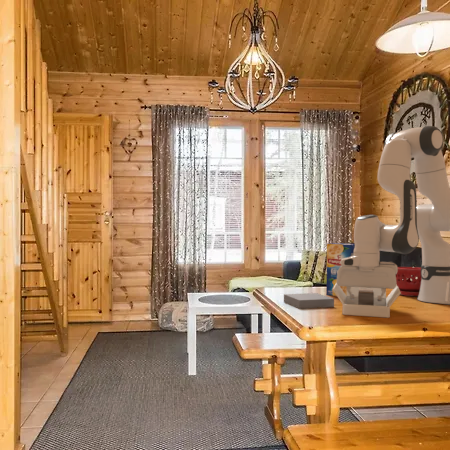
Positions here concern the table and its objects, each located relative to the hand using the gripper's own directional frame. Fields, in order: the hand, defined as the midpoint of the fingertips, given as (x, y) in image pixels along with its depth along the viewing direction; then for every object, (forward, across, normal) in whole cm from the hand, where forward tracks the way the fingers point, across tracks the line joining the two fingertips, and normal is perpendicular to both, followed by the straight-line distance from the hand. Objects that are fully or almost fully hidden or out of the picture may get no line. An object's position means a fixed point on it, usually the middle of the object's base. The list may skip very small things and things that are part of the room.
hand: (365, 300), depth 166 cm
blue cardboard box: (+4, +10, -34) cm, 36 cm away
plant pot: (+4, -18, -45) cm, 49 cm away
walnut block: (+4, 0, 0) cm, 4 cm away
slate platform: (+4, +21, -7) cm, 22 cm away
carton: (+4, 0, -2) cm, 4 cm away
